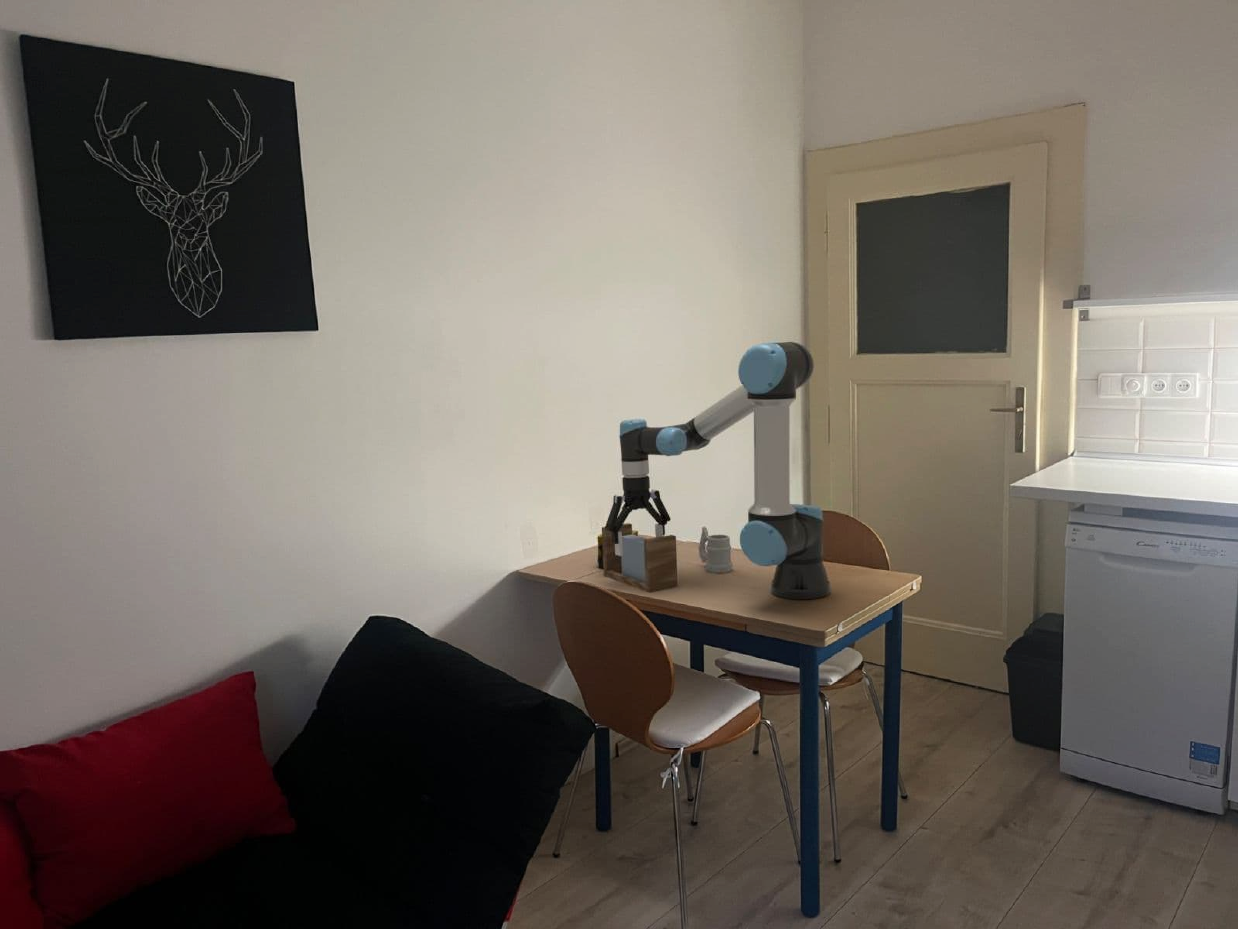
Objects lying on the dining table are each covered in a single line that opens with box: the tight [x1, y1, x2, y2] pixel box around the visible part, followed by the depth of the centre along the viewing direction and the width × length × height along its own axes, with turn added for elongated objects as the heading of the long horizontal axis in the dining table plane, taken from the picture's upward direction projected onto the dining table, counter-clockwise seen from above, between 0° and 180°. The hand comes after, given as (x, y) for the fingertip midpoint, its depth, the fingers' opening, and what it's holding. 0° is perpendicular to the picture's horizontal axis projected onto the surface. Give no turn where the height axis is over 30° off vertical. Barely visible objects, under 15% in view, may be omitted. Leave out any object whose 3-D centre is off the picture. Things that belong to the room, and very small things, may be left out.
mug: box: [698, 526, 734, 574], centre depth 267 cm, size 8×12×12 cm, turn 38°
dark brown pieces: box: [597, 530, 639, 570], centre depth 276 cm, size 10×10×10 cm
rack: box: [601, 523, 679, 593], centre depth 257 cm, size 24×9×14 cm, turn 32°
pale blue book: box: [621, 535, 647, 583], centre depth 257 cm, size 12×4×12 cm, turn 32°
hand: (639, 551), depth 256 cm, fingers open, 13 cm apart
